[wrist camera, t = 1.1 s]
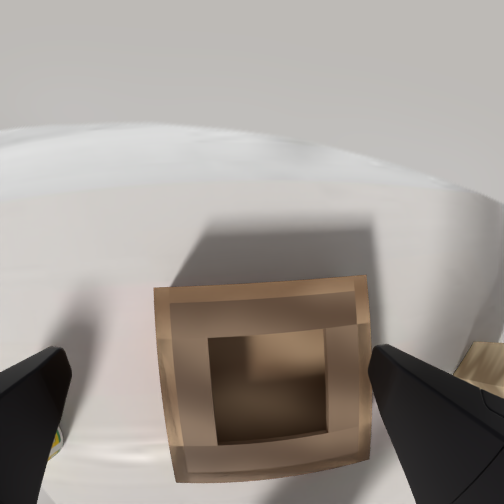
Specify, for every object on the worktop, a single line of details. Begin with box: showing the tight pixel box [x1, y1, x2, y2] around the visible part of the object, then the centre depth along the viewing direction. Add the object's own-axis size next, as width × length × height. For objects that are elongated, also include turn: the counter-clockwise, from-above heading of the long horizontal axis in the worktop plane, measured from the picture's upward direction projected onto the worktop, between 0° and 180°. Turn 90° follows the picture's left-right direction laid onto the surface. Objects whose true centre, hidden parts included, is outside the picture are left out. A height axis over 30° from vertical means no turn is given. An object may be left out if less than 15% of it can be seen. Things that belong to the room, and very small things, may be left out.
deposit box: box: [154, 275, 372, 483], centre depth 20 cm, size 14×14×4 cm
